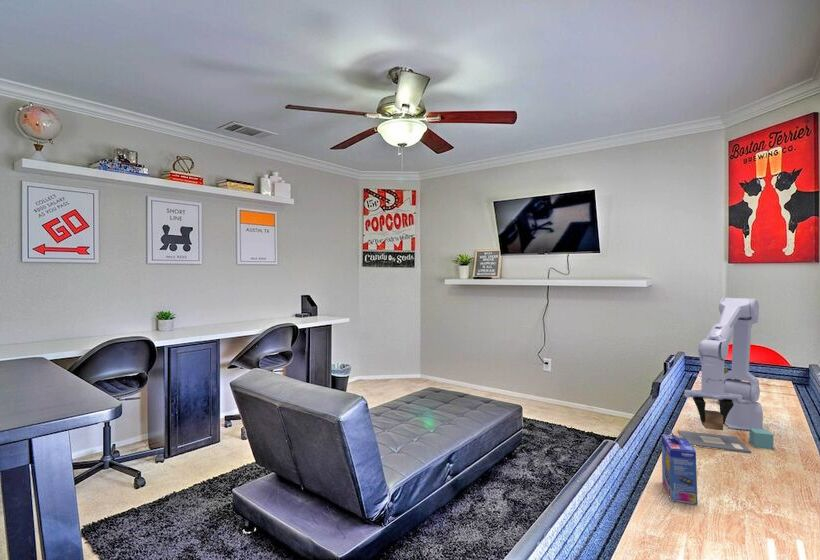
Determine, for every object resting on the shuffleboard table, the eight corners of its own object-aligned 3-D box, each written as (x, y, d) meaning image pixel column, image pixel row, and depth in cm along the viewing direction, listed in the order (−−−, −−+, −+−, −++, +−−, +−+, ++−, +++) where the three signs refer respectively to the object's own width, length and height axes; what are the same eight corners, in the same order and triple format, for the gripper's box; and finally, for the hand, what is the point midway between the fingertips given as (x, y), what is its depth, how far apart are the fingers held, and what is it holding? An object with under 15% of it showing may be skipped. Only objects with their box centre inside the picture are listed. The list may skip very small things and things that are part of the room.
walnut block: (718, 425, 134) (718, 411, 134) (723, 430, 130) (723, 415, 130) (701, 423, 136) (701, 409, 136) (705, 428, 132) (705, 413, 132)
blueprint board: (736, 438, 136) (736, 436, 136) (751, 453, 125) (751, 451, 125) (677, 432, 141) (677, 430, 141) (686, 445, 130) (686, 443, 130)
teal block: (767, 444, 132) (767, 429, 131) (773, 449, 127) (773, 434, 127) (749, 442, 133) (749, 427, 133) (754, 447, 129) (754, 432, 129)
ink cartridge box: (660, 481, 107) (660, 424, 107) (685, 485, 105) (686, 426, 105) (669, 501, 98) (670, 438, 98) (698, 505, 96) (698, 441, 96)
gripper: (688, 379, 132) (688, 423, 132) (745, 383, 126) (745, 429, 127) (683, 374, 138) (682, 416, 138) (737, 378, 133) (737, 422, 133)
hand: (712, 422), depth 133 cm, fingers closed on walnut block, 4 cm apart
